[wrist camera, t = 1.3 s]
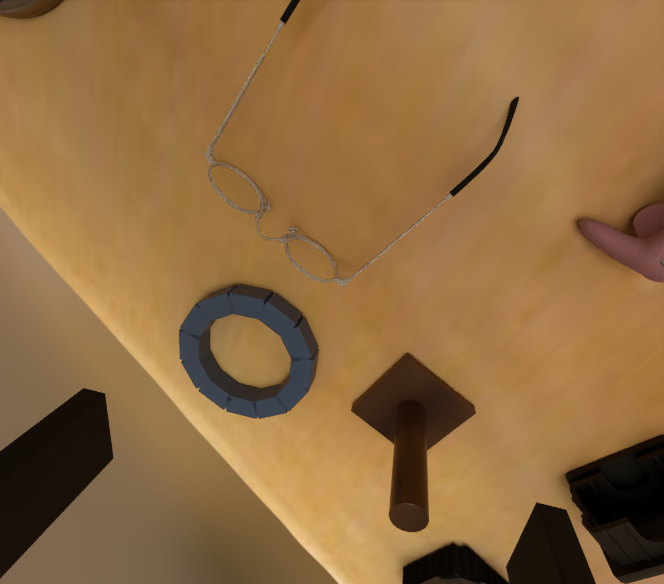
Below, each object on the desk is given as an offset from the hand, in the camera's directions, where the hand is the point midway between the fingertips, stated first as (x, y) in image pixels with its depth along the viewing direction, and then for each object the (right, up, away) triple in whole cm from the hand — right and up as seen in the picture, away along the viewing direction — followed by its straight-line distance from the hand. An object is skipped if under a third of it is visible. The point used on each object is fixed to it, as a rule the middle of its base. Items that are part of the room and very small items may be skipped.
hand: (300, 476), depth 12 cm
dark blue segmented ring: (-7, 0, +26) cm, 27 cm away
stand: (+8, -5, +25) cm, 27 cm away
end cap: (+28, -11, +23) cm, 38 cm away
